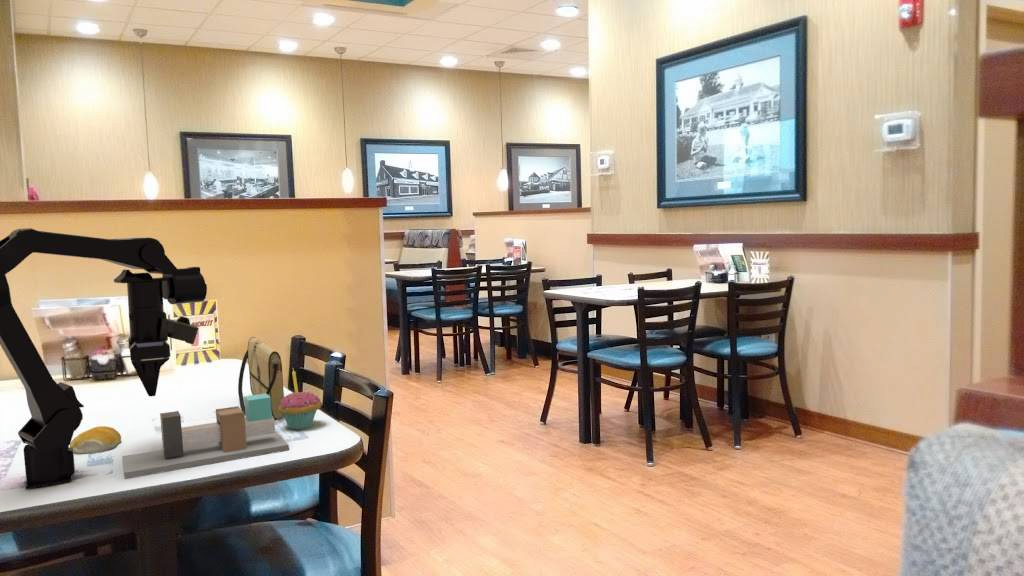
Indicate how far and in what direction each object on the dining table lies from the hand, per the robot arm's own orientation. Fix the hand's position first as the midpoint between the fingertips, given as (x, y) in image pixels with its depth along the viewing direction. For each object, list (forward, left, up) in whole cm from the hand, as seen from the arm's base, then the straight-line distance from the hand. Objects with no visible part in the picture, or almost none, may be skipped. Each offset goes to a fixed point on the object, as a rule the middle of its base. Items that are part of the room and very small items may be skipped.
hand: (151, 391), depth 137 cm
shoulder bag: (+23, +25, -12) cm, 36 cm away
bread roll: (-10, +13, -12) cm, 20 cm away
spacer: (+17, -6, -6) cm, 20 cm away
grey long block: (+10, -6, -10) cm, 16 cm away
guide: (+8, -6, -12) cm, 16 cm away
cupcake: (+27, +4, -12) cm, 30 cm away
